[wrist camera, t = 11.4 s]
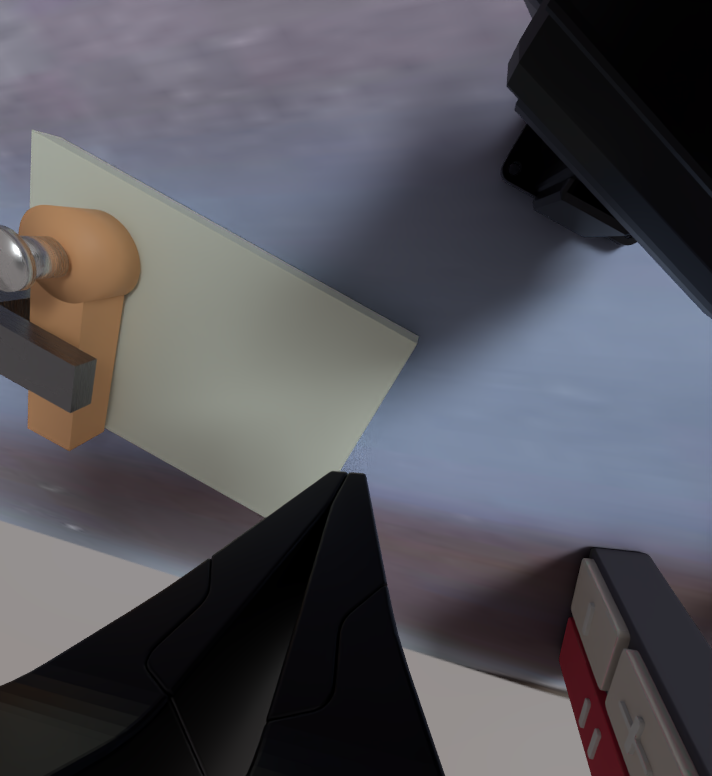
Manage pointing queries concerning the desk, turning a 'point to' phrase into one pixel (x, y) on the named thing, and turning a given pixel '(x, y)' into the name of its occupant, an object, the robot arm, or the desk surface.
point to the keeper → (30, 342)
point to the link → (81, 308)
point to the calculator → (636, 671)
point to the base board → (227, 343)
